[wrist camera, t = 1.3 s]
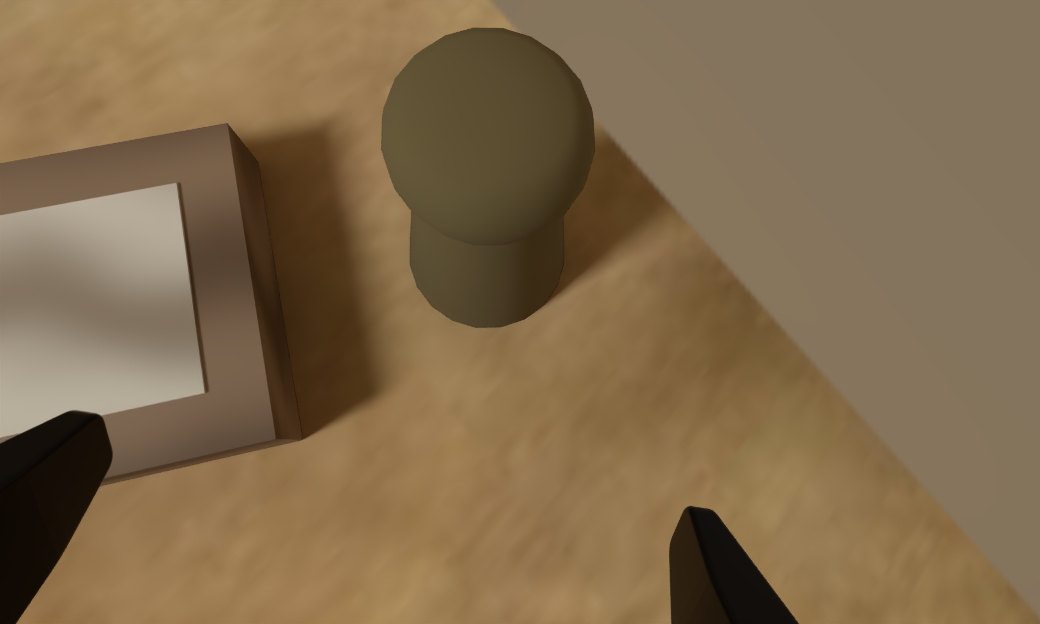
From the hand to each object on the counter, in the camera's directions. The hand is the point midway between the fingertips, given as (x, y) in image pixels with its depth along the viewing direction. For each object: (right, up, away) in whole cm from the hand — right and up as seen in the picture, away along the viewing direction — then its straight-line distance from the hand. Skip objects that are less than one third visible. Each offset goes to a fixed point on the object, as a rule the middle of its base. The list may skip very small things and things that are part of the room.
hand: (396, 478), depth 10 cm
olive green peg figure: (+1, +5, +15) cm, 16 cm away
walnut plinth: (-13, +2, +14) cm, 19 cm away
